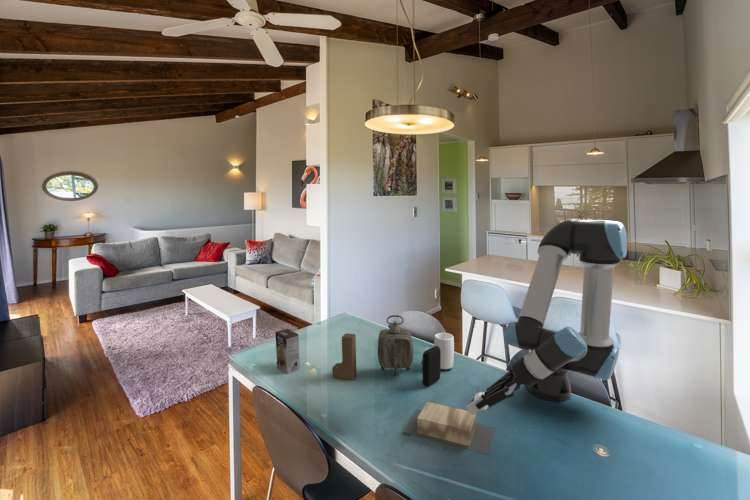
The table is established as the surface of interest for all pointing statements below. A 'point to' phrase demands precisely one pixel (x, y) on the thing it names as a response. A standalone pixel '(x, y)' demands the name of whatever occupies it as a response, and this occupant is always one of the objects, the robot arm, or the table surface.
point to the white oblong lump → (479, 396)
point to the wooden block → (346, 359)
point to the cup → (445, 349)
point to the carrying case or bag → (431, 365)
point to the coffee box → (287, 350)
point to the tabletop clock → (395, 347)
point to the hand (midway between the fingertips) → (469, 410)
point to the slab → (447, 423)
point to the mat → (478, 442)
